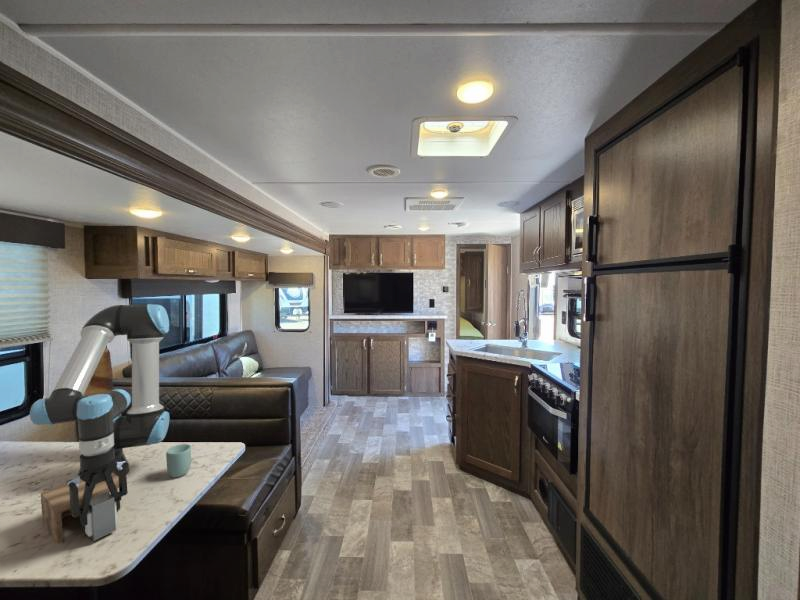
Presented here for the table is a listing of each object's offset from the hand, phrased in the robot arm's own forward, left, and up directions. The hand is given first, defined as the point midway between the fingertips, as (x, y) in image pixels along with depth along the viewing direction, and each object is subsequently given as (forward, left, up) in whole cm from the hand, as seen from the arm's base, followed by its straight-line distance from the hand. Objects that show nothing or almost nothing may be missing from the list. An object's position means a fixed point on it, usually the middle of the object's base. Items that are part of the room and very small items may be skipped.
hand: (101, 527), depth 101 cm
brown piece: (-13, 0, -2) cm, 14 cm away
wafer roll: (-58, +18, -2) cm, 61 cm away
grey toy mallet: (-5, 0, -1) cm, 5 cm away
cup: (-14, +28, -2) cm, 32 cm away
